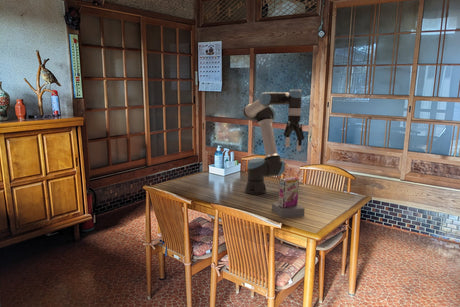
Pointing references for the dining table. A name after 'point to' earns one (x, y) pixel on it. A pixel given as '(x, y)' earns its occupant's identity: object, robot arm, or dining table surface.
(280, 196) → the candy bar box
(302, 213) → the block
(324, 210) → the dining table surface
